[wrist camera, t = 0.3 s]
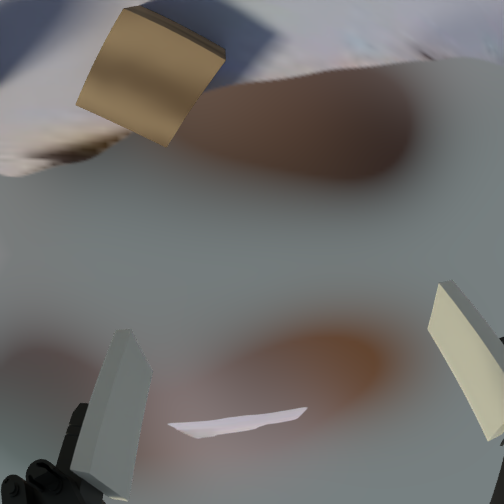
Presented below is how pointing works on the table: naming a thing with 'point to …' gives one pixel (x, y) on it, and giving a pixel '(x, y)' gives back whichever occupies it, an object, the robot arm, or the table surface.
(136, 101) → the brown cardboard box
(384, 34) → the table surface
